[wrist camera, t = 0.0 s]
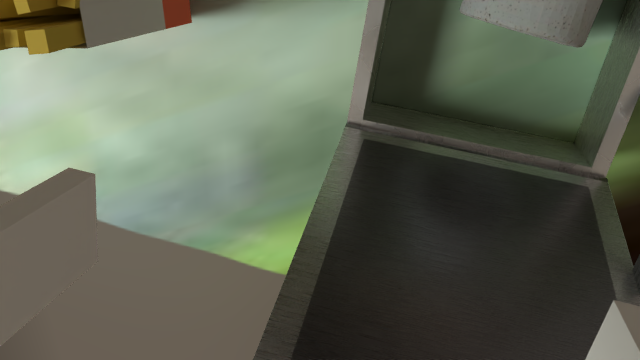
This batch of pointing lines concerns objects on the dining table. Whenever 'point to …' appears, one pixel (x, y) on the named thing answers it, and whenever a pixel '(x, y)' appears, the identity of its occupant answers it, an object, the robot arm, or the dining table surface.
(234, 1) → the dining table surface
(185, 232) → the dining table surface
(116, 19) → the french fries container
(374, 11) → the equipment case
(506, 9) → the ceramic mug
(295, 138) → the dining table surface
